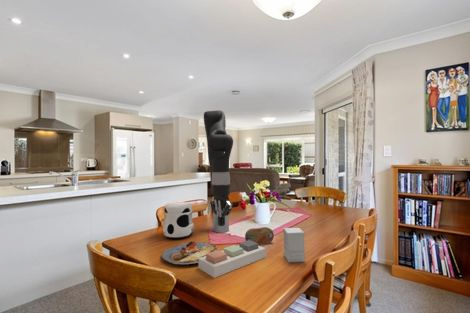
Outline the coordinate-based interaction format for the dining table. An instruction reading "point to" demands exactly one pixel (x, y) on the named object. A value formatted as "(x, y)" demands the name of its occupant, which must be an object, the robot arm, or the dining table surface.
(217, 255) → the terracotta key
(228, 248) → the sage key
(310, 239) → the dining table surface
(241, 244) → the charcoal key
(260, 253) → the key board
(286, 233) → the supplement box
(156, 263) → the dining table surface
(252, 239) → the brown rounded lump
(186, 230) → the milk container
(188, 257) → the food plate
